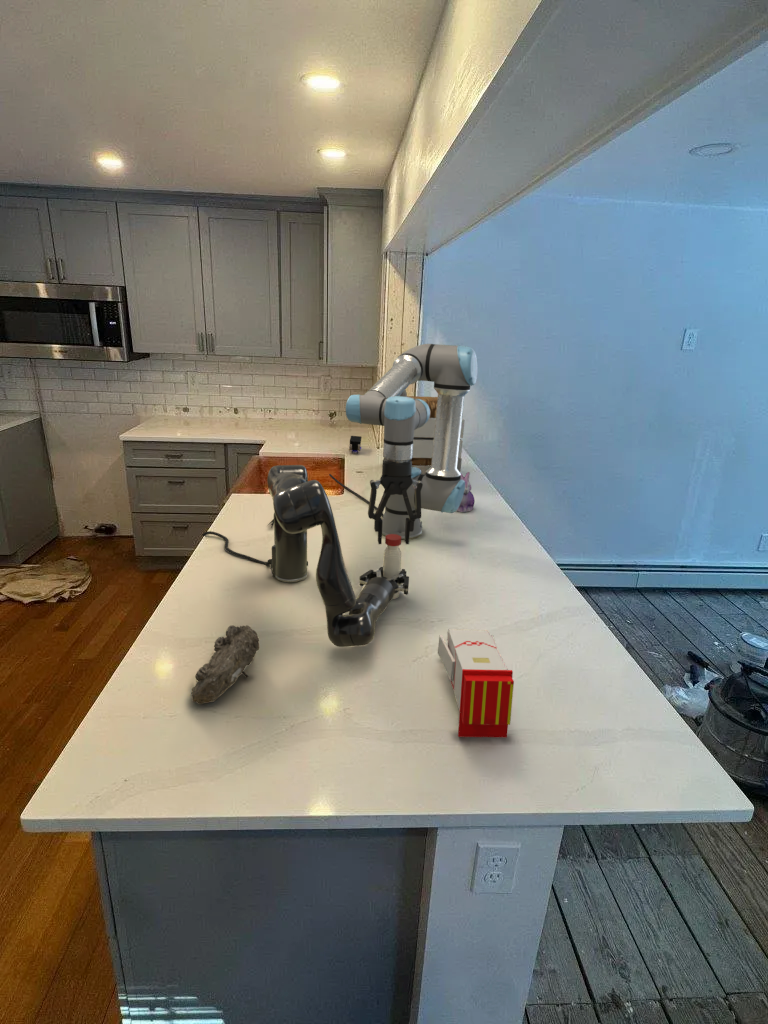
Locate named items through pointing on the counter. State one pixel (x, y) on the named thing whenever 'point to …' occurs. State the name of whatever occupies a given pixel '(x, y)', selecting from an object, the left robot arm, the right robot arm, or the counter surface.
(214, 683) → the fossil
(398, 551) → the bottle
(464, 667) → the toy
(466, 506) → the figurine
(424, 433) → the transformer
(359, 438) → the figurine character
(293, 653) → the counter surface
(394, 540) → the cap
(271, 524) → the feather
